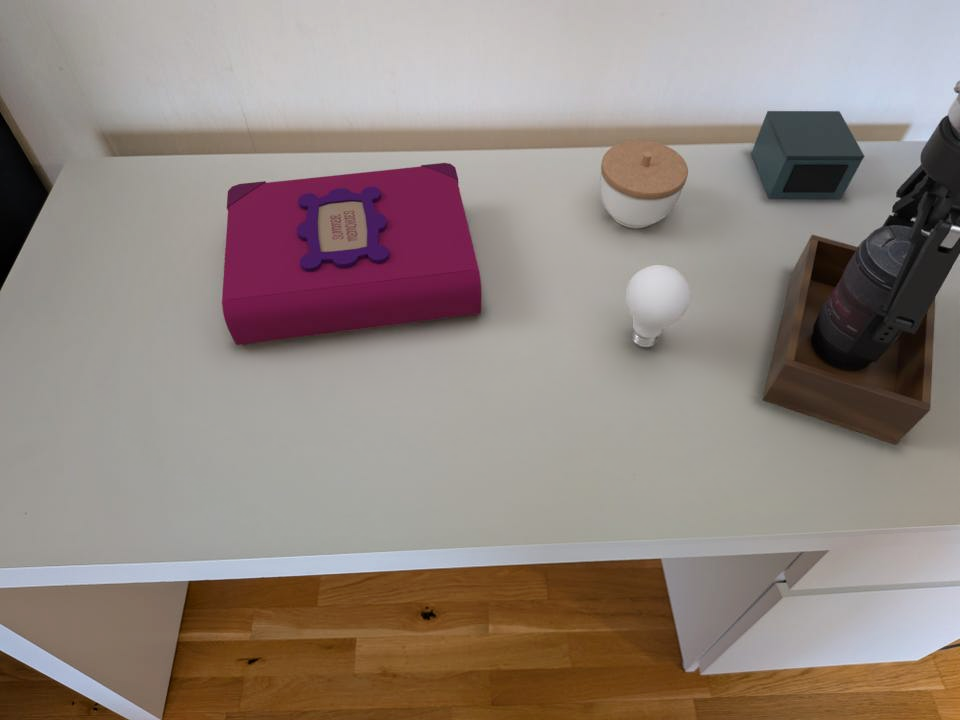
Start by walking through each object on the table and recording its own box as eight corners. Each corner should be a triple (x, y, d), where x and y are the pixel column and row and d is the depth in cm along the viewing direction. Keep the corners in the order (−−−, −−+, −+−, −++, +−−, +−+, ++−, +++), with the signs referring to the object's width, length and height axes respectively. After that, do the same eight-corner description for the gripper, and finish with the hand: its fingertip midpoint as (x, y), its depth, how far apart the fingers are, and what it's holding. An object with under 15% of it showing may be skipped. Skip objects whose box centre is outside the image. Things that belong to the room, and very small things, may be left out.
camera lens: (789, 345, 77) (847, 248, 65) (828, 309, 80) (890, 211, 68) (854, 389, 73) (928, 296, 61) (892, 350, 77) (969, 254, 65)
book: (482, 321, 80) (483, 276, 73) (238, 353, 76) (217, 309, 70) (455, 204, 92) (453, 157, 86) (243, 227, 89) (226, 180, 83)
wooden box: (791, 273, 84) (812, 234, 79) (907, 307, 81) (937, 268, 76) (762, 400, 73) (784, 363, 68) (896, 444, 70) (930, 410, 65)
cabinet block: (819, 153, 99) (839, 110, 93) (841, 199, 93) (865, 156, 87) (750, 153, 99) (767, 110, 93) (769, 199, 93) (787, 156, 87)
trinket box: (577, 205, 92) (586, 146, 84) (637, 177, 95) (650, 118, 88) (629, 252, 87) (644, 193, 79) (690, 221, 90) (710, 162, 83)
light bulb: (602, 341, 78) (618, 274, 69) (637, 310, 81) (657, 242, 72) (648, 375, 75) (671, 309, 66) (683, 342, 78) (710, 274, 69)
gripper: (945, 47, 62) (843, 224, 79) (938, 213, 48) (816, 384, 65) (1036, 66, 60) (911, 243, 77) (1056, 244, 46) (898, 412, 63)
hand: (867, 308), depth 71 cm, fingers open, 13 cm apart
